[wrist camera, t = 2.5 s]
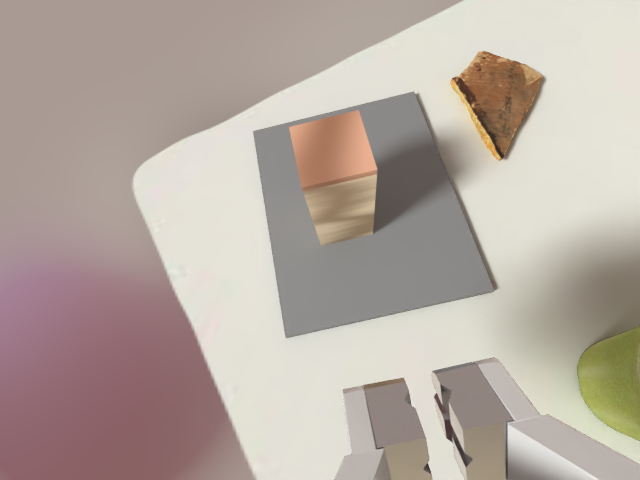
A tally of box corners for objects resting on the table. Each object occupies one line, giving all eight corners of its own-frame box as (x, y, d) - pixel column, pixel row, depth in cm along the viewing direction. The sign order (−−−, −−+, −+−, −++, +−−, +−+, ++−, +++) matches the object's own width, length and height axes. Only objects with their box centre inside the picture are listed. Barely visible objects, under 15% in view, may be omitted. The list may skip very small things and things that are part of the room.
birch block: (360, 189, 31) (358, 109, 21) (372, 234, 29) (377, 169, 20) (311, 200, 31) (288, 127, 21) (321, 246, 29) (301, 187, 20)
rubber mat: (413, 96, 34) (414, 91, 34) (491, 292, 27) (494, 290, 26) (255, 135, 35) (253, 131, 34) (287, 337, 27) (285, 337, 27)
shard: (496, 168, 31) (504, 156, 29) (418, 136, 33) (421, 124, 31) (540, 85, 34) (550, 70, 32) (466, 60, 36) (471, 45, 34)
